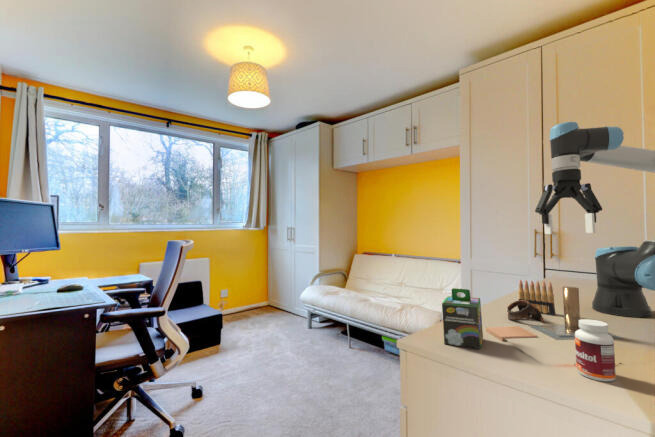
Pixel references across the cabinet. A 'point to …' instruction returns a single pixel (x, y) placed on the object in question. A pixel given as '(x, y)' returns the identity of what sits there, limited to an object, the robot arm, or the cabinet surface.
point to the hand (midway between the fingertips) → (569, 233)
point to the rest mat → (564, 337)
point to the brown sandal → (524, 311)
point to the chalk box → (462, 320)
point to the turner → (567, 314)
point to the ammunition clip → (538, 297)
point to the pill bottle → (595, 351)
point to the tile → (509, 332)
